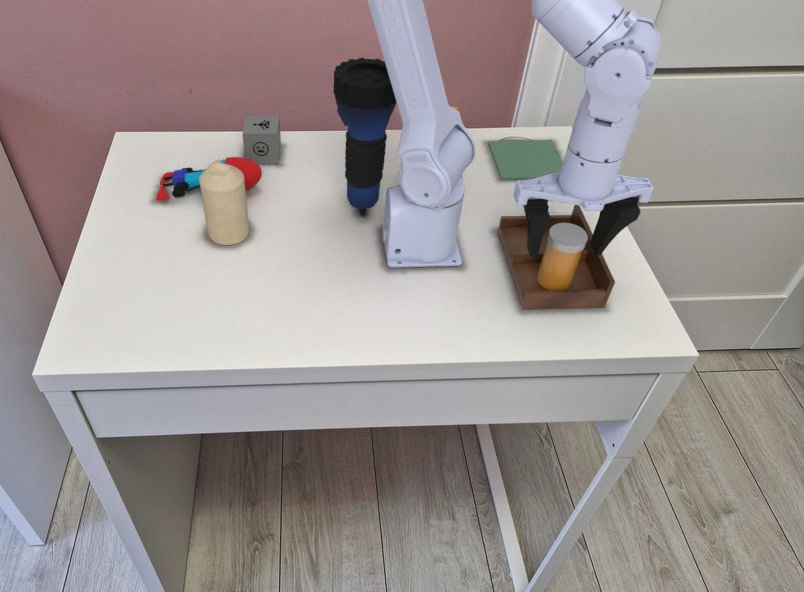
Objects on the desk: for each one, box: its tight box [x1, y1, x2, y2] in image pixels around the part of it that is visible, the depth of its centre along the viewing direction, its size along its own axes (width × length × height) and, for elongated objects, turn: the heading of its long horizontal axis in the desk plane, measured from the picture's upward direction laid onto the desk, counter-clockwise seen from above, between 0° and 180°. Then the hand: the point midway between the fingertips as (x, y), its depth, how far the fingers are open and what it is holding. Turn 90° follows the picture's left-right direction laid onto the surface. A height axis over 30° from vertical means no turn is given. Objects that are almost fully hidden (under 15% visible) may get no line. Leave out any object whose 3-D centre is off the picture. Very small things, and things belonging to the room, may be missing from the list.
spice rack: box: [497, 205, 616, 311], centre depth 87 cm, size 10×15×4 cm, turn 3°
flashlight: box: [333, 57, 397, 218], centre depth 88 cm, size 8×8×20 cm
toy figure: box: [155, 156, 263, 202], centre depth 97 cm, size 8×5×15 cm
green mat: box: [487, 139, 563, 181], centre depth 105 cm, size 10×10×1 cm
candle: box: [199, 162, 250, 246], centre depth 89 cm, size 6×6×10 cm
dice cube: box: [241, 115, 282, 165], centre depth 103 cm, size 5×5×5 cm
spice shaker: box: [537, 223, 588, 290], centre depth 82 cm, size 4×4×7 cm
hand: (563, 250), depth 82 cm, fingers open, 7 cm apart
